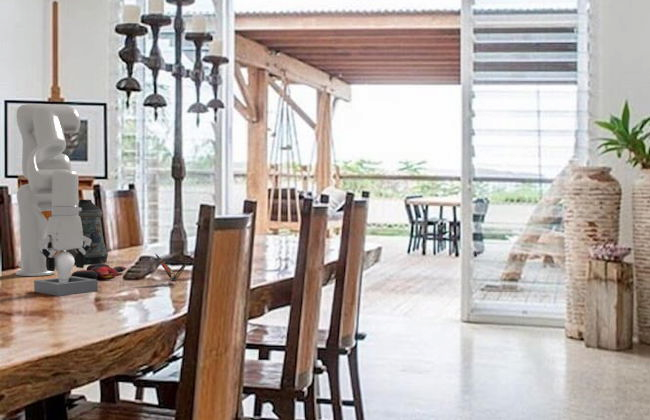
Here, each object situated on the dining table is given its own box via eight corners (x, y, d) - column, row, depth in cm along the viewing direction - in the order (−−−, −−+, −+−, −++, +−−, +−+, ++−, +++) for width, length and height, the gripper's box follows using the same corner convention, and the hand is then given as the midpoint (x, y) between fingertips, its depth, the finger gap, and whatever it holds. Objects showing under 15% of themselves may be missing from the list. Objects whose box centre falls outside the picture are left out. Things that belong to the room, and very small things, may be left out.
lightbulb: (54, 289, 222) (54, 252, 221) (51, 287, 227) (51, 250, 227) (75, 289, 224) (76, 251, 224) (72, 286, 230) (72, 250, 230)
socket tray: (34, 291, 225) (34, 280, 225) (73, 286, 235) (72, 276, 235) (58, 296, 217) (58, 284, 217) (97, 290, 227) (97, 279, 227)
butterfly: (150, 286, 237) (150, 254, 236) (158, 282, 246) (158, 251, 246) (188, 287, 236) (188, 255, 236) (195, 282, 246) (195, 252, 245)
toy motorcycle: (69, 286, 246) (118, 279, 246) (66, 270, 246) (115, 263, 246) (91, 278, 271) (135, 271, 271) (89, 264, 271) (133, 257, 271)
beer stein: (87, 265, 292) (87, 200, 291) (50, 262, 300) (49, 199, 299) (116, 261, 307) (116, 199, 306) (80, 259, 315) (79, 198, 314)
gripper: (83, 210, 234) (83, 265, 235) (31, 212, 221) (31, 270, 222) (97, 211, 230) (97, 267, 231) (45, 213, 216) (45, 273, 217)
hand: (65, 269), depth 226 cm, fingers open, 9 cm apart
